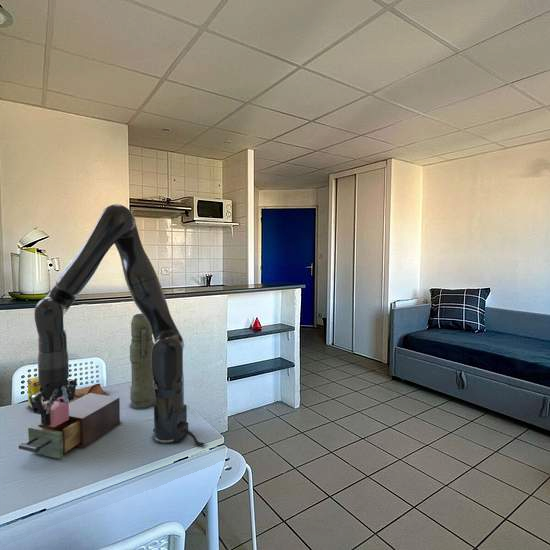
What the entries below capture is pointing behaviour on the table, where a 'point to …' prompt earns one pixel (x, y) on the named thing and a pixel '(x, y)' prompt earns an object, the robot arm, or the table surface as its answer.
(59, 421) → the block
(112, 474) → the table surface
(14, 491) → the table surface
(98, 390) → the sunglasses case
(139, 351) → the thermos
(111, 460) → the table surface
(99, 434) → the cabinet
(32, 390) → the supplement box
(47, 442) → the drawer
